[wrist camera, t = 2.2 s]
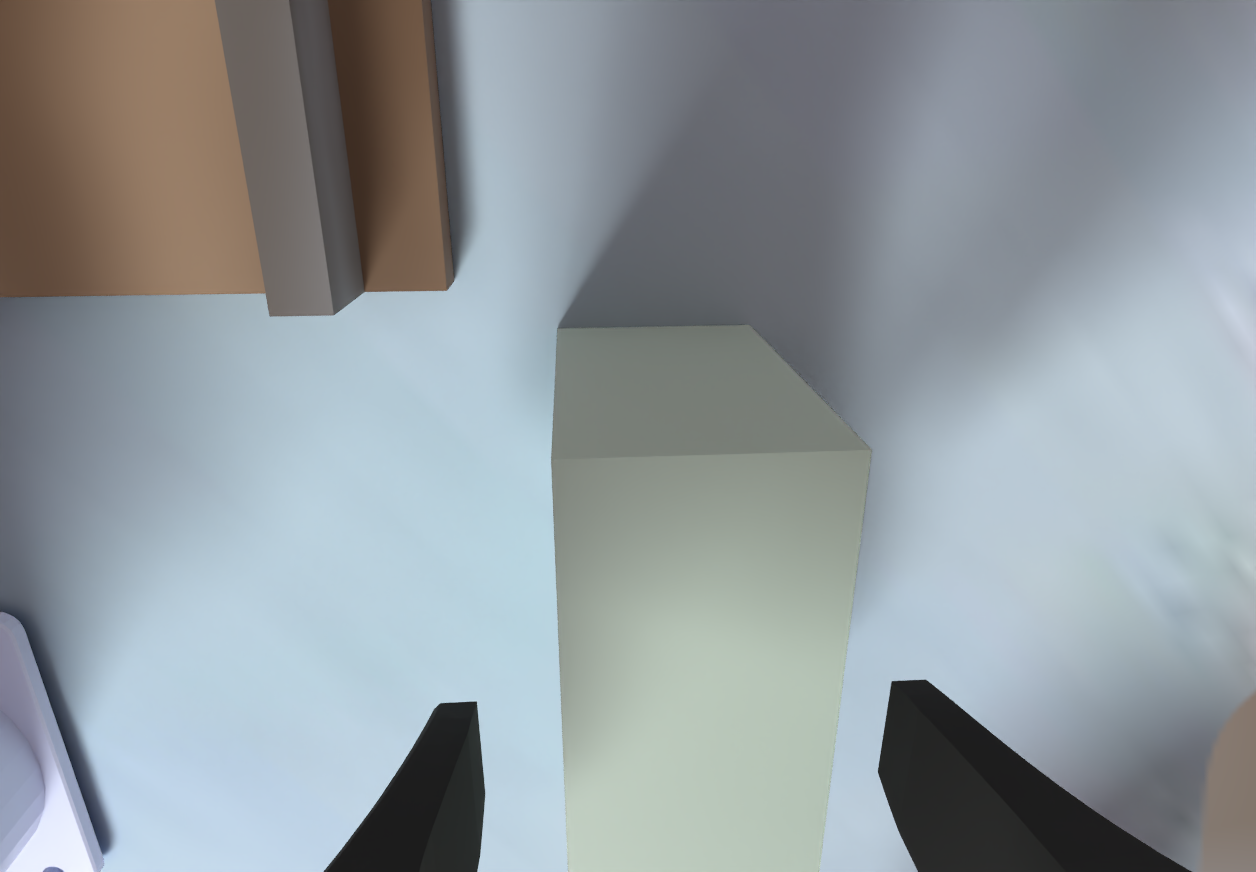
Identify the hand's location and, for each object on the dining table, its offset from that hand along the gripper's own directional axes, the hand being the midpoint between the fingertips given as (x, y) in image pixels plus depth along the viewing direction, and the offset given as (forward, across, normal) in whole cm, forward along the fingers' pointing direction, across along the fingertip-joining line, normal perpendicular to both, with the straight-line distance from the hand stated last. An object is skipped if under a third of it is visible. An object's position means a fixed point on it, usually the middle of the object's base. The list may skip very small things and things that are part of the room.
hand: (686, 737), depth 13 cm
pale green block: (+5, 0, 0) cm, 5 cm away
